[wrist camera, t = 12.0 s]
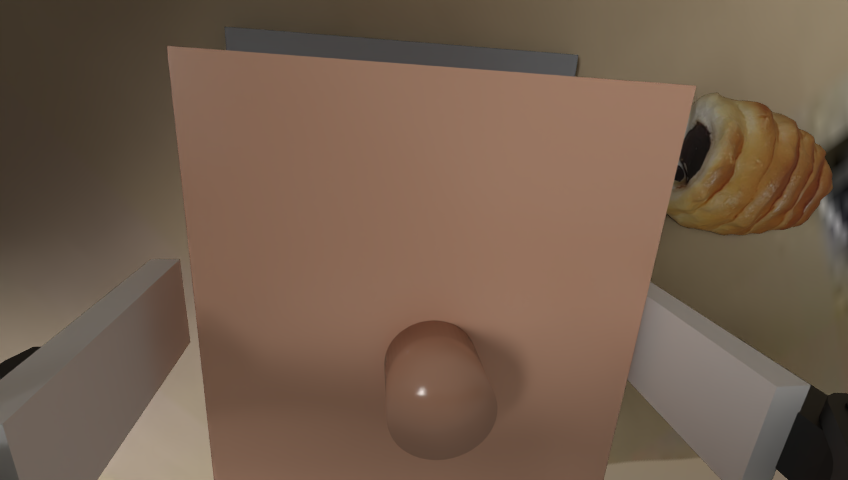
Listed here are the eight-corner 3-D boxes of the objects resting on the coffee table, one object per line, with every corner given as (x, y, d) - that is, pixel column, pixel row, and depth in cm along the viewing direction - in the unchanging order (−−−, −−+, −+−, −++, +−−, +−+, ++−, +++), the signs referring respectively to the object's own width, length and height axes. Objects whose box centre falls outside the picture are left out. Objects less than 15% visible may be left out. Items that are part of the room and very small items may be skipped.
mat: (253, 378, 24) (250, 385, 24) (228, 28, 19) (224, 26, 18) (525, 373, 26) (528, 379, 26) (572, 56, 21) (578, 54, 20)
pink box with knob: (293, 354, 23) (198, 661, 11) (283, 77, 19) (105, 28, 6) (492, 352, 25) (621, 619, 12) (523, 94, 21) (774, 82, 8)
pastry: (824, 136, 24) (903, 143, 21) (765, 246, 26) (828, 270, 22) (683, 87, 22) (744, 85, 19) (631, 209, 24) (677, 229, 21)
